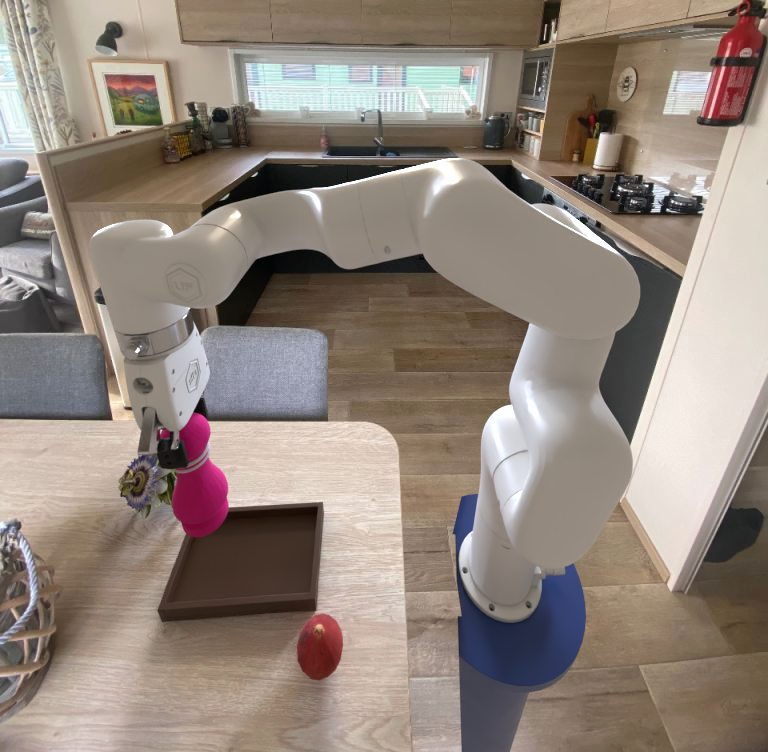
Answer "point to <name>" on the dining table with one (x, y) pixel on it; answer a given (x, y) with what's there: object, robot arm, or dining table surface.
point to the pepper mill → (198, 482)
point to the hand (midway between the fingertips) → (186, 441)
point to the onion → (319, 647)
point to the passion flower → (147, 484)
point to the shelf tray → (248, 565)
